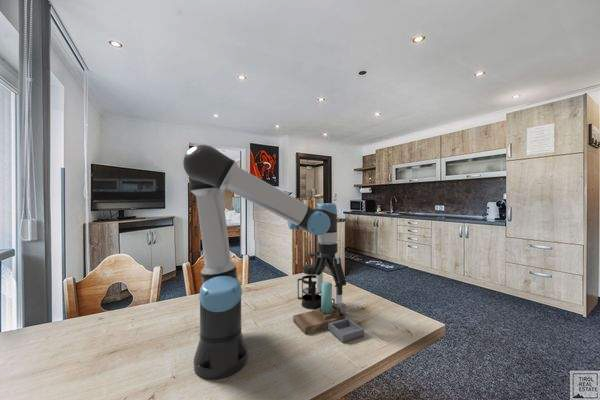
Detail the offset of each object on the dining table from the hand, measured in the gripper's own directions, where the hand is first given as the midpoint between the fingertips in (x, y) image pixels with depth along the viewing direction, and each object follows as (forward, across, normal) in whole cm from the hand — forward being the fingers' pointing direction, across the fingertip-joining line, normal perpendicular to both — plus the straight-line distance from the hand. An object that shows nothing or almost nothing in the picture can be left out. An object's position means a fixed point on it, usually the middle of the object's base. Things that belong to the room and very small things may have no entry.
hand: (328, 296), depth 98 cm
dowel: (+7, 0, +1) cm, 7 cm away
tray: (+9, -11, 0) cm, 14 cm away
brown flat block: (+10, 0, +5) cm, 11 cm away
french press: (+9, +15, 0) cm, 18 cm away
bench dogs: (+9, 0, -4) cm, 10 cm away
